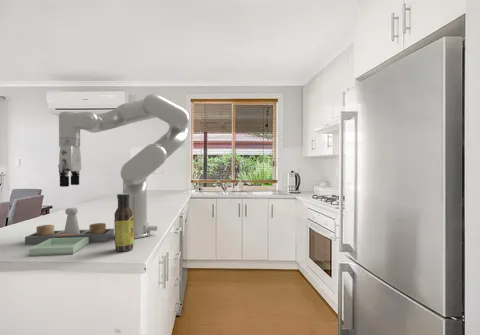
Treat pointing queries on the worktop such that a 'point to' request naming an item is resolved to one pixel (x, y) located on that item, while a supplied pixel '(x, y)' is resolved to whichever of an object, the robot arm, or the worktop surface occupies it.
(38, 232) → the oak peg
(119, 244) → the sauce bottle
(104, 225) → the oak peg
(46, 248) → the sage tray
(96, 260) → the worktop surface
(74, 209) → the salt shaker
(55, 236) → the socket holder
